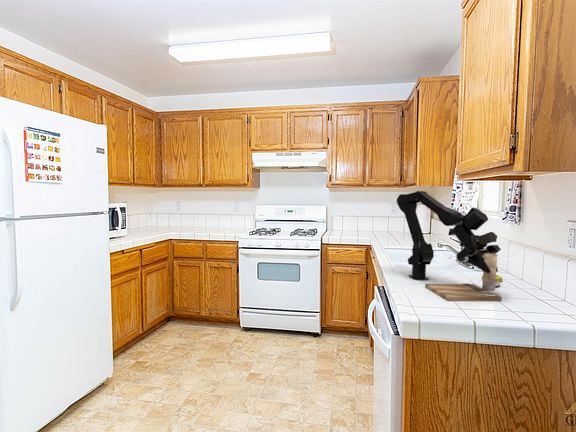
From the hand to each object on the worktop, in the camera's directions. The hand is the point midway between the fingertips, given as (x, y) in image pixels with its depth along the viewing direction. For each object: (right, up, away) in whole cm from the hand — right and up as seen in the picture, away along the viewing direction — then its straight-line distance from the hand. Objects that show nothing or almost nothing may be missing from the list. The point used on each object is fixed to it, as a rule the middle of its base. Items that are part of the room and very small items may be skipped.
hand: (493, 272), depth 123 cm
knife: (+14, -9, +24) cm, 30 cm away
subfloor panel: (-8, -9, +7) cm, 14 cm away
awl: (-1, -6, +2) cm, 7 cm away
